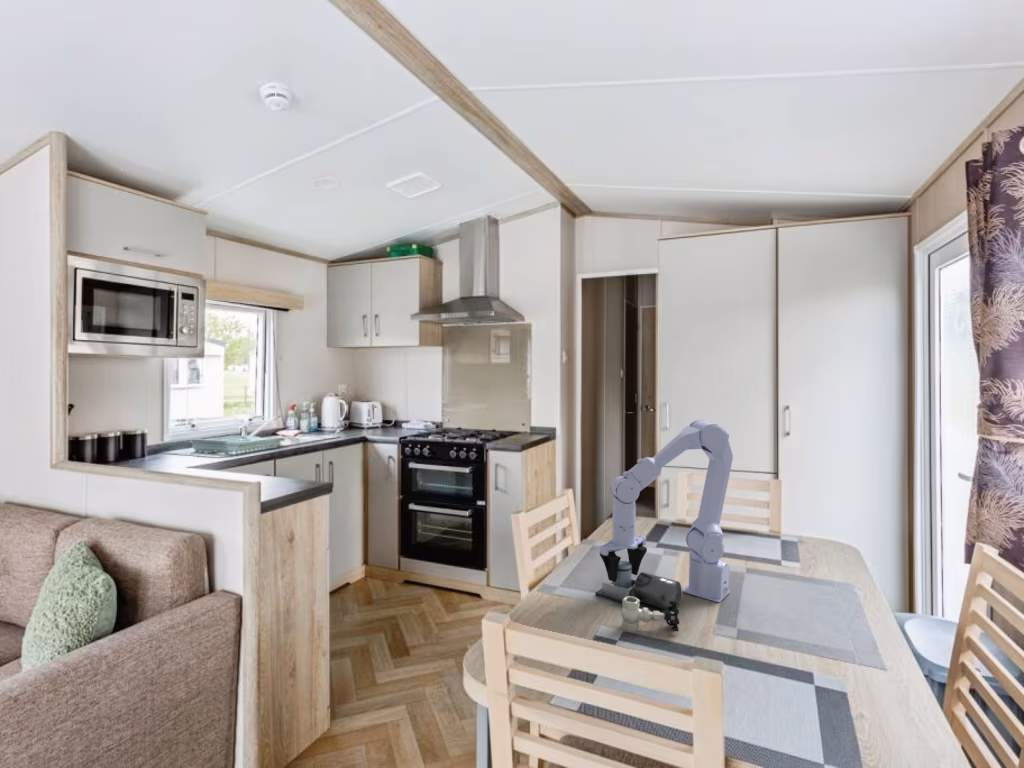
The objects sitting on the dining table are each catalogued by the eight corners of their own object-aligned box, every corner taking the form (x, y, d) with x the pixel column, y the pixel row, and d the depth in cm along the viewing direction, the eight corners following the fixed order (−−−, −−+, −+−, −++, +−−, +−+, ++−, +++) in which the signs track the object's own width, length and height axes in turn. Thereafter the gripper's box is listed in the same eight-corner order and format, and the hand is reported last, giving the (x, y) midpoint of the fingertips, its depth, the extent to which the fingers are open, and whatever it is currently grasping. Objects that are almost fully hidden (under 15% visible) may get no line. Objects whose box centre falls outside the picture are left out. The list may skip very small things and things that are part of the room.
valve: (623, 635, 120) (679, 637, 119) (623, 605, 119) (679, 608, 118) (619, 621, 126) (672, 623, 125) (619, 592, 126) (673, 594, 125)
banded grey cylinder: (623, 585, 143) (623, 559, 143) (635, 592, 139) (635, 565, 139) (609, 589, 141) (609, 562, 141) (621, 596, 137) (621, 568, 137)
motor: (683, 603, 135) (684, 575, 134) (666, 618, 127) (666, 588, 127) (615, 583, 147) (615, 557, 147) (595, 595, 140) (595, 568, 139)
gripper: (614, 533, 132) (614, 589, 132) (655, 523, 140) (654, 576, 141) (594, 526, 138) (593, 579, 138) (634, 517, 146) (633, 567, 146)
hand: (623, 577), depth 140 cm, fingers open, 7 cm apart
